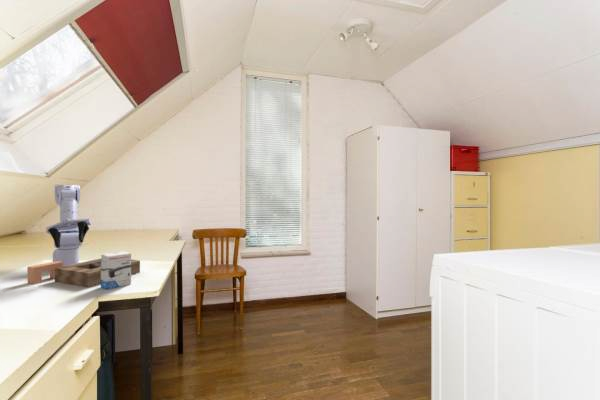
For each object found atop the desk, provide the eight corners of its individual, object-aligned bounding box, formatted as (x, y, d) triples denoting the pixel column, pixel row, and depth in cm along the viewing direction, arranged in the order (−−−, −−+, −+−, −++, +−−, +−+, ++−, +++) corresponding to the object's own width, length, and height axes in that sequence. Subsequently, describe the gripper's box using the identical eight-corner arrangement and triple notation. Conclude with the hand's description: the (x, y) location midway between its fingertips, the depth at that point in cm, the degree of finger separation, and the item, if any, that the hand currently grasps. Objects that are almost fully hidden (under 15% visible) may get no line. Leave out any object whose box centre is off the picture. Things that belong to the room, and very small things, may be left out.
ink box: (106, 289, 107) (106, 256, 107) (100, 287, 110) (100, 254, 110) (131, 284, 114) (131, 252, 114) (125, 281, 117) (125, 250, 117)
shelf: (54, 281, 115) (54, 268, 115) (108, 268, 136) (108, 256, 136) (89, 287, 110) (89, 273, 109) (139, 272, 130) (139, 260, 130)
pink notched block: (27, 283, 113) (27, 266, 113) (56, 276, 122) (56, 261, 122) (33, 284, 112) (33, 267, 112) (62, 277, 121) (62, 262, 121)
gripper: (42, 213, 119) (41, 244, 112) (85, 205, 124) (87, 234, 118) (50, 222, 124) (50, 252, 118) (92, 214, 130) (93, 242, 123)
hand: (69, 243), depth 118 cm, fingers open, 7 cm apart
